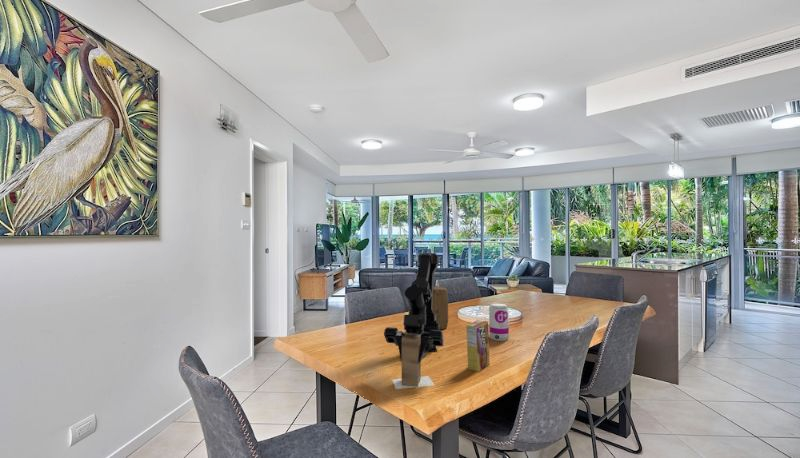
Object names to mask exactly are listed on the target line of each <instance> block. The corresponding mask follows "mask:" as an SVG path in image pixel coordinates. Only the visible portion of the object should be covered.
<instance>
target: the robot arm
mask: <svg viewBox="0 0 800 458" xmlns="http://www.w3.org/2000/svg"><path fill="white" fill-rule="evenodd" d="M439 264H440V256H439V255H437V252H421V253H420V254H417V265H418V268H417V274H416V278H415V280H413V281H412V282H411V284H410V286H409V287H407V288H406V290H405V291H404V296H405V297H404V298H405V301H406V305H407V308H408V309H409V310H408V313H407V314H403V324H402V325H403V330H404V331H405V332H403V331H401V330H399V329H398V327H391V326H389V327H386V328H385V329H384V332H383V337H384V338H385V342H386V343H388V344H394V345H395V346H397V347H398V353H399V358H400V359H399V360H400V363H402V338H403V336H404V335H405V334H412V335H421V349H420V353H419V360H418V362H419V363H420V362H423V361H422V360H423V358H424V357H425V356H426V354H427V353H428V352H438V348H437V347H444V333H443V331H442V329H439V324H438V322H437V320H436V316H435V314H434V312H433V310H432V306H433V287H434V276H435V275H434V274H435V273H436V272H437V270H438V269H439V268H438V265H439Z"/></svg>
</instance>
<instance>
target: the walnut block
mask: <svg viewBox="0 0 800 458" xmlns="http://www.w3.org/2000/svg"><path fill="white" fill-rule="evenodd" d="M420 349H421V335H412V334H405V335H404V336H403V338H402V362H401V379H402V385H408V386H417V387H416V388H419V387H418V385H419V382H420V380H421V377H422V376H421V372H422V371H421V369H422V368H421V366H422V365H421V364H422V363H421V362H422V361H421V362H420V363H419V362H418V360H419V353H420Z"/></svg>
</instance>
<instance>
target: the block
mask: <svg viewBox="0 0 800 458" xmlns="http://www.w3.org/2000/svg"><path fill="white" fill-rule="evenodd" d="M447 289H448V288H447V287H444V286H433V306H432V310H433V312H434V314H435V316H436V320H437V322H438V324H439V330H445V329H447V328H448V324H449V299H448V298H449V296H448V290H447Z"/></svg>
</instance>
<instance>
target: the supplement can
mask: <svg viewBox="0 0 800 458" xmlns="http://www.w3.org/2000/svg"><path fill="white" fill-rule="evenodd" d="M488 312H489V313H488V315H489V317H488V335H489V338H490V339H491V340H492V339H493V340H492V341H496V342H504V341H508V339H509V338H510V336H509V335H510V333H509V329H510V327H509V326H510V323H509V307H508V305H507V304H505V303H497V302H496V303H490V305H489V307H488Z"/></svg>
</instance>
